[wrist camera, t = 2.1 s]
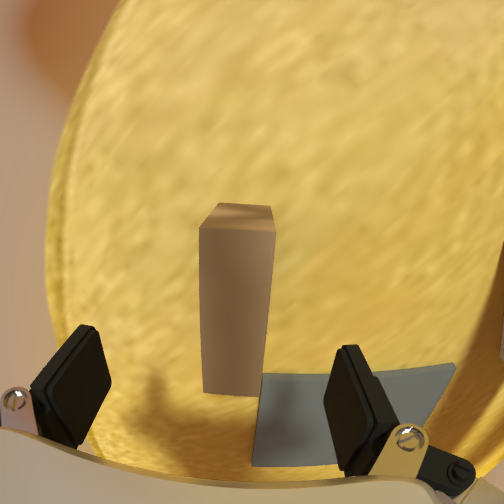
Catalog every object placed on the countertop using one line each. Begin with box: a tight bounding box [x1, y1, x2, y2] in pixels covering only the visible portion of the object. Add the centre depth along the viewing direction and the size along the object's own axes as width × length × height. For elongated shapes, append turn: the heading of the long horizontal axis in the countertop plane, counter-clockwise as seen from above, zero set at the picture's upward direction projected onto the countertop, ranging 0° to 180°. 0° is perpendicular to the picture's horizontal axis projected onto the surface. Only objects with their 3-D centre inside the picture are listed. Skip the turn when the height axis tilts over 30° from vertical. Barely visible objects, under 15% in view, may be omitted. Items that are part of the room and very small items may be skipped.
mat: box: [252, 363, 457, 467], centre depth 23 cm, size 18×14×1 cm
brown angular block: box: [199, 203, 276, 397], centre depth 16 cm, size 3×9×6 cm, turn 177°
